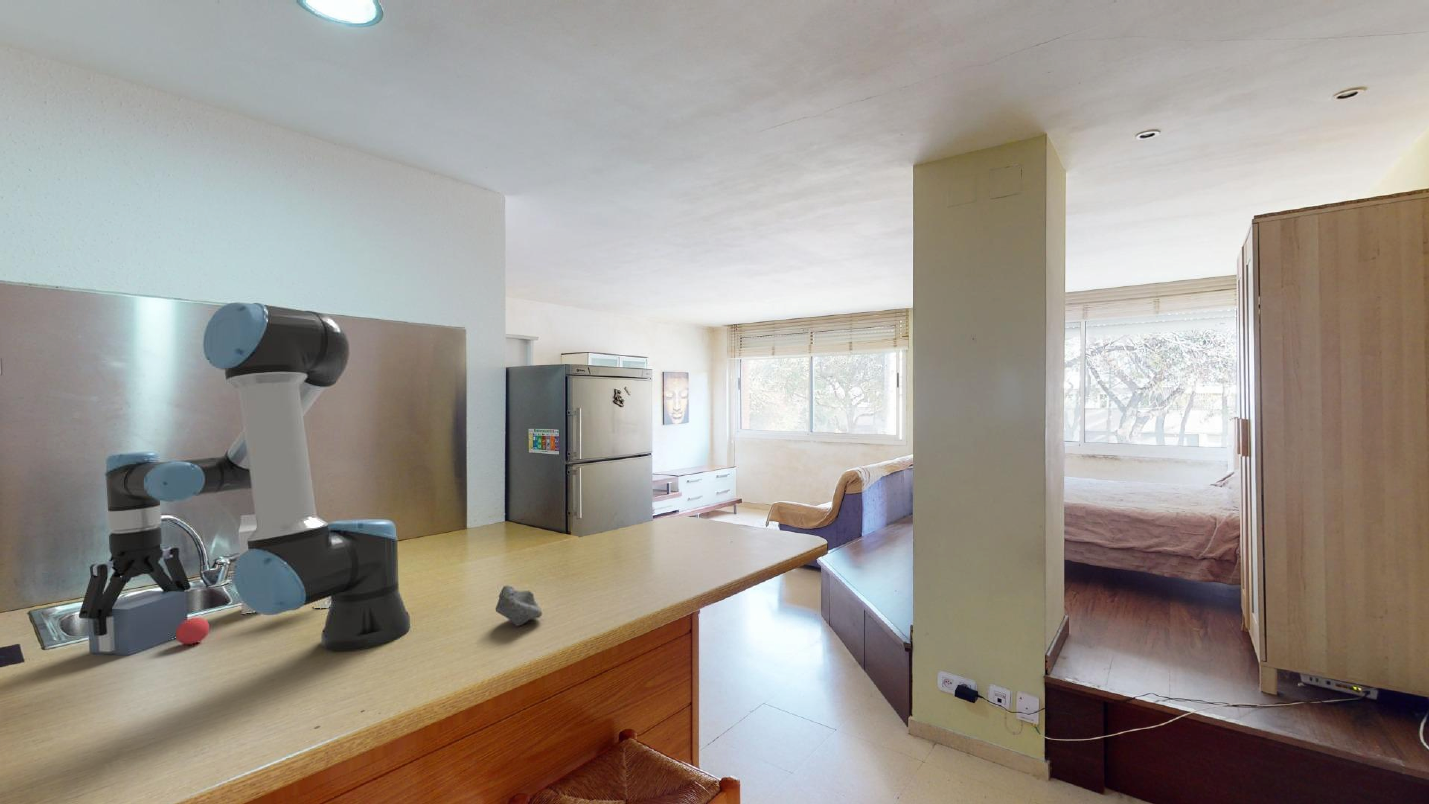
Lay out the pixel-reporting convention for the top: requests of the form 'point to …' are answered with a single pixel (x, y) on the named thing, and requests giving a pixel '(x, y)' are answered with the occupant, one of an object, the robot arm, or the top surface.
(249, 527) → the milk
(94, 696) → the top surface
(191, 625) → the ball
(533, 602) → the grey rock
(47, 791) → the top surface
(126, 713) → the top surface
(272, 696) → the top surface
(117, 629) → the blue gray block
